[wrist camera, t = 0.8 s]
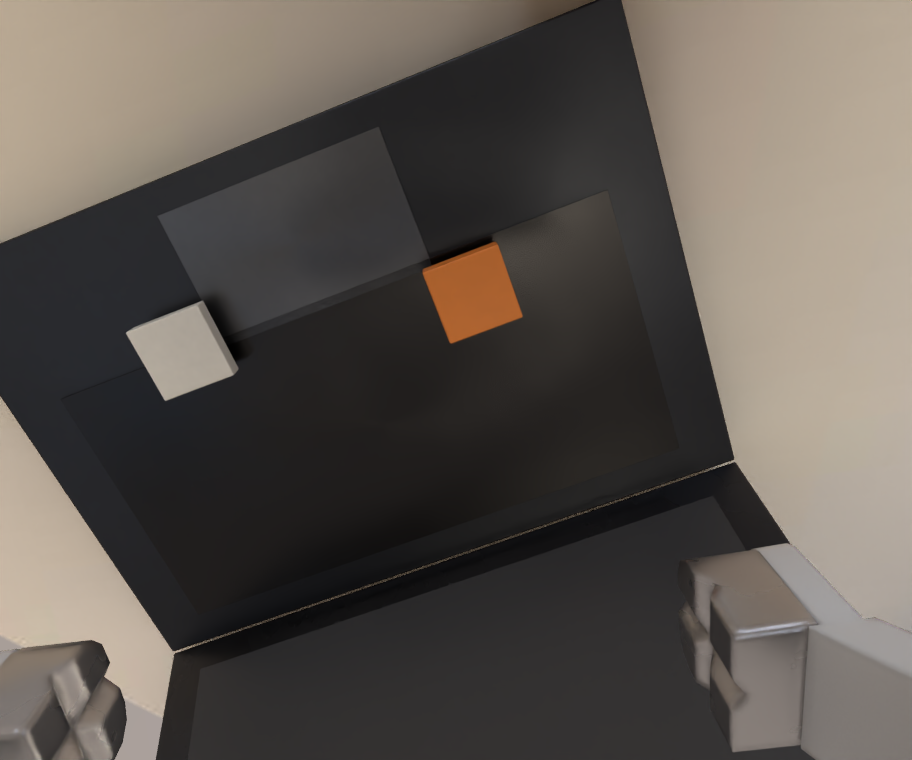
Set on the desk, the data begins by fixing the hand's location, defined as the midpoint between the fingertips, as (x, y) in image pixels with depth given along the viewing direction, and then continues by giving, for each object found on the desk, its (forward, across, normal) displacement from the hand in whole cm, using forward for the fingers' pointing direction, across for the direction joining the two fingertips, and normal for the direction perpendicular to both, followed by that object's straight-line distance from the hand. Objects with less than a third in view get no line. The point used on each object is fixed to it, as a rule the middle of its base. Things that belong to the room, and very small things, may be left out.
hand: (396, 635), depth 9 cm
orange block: (+20, -2, -1) cm, 20 cm away
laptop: (+22, +3, +3) cm, 23 cm away
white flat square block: (+20, +10, 0) cm, 22 cm away
